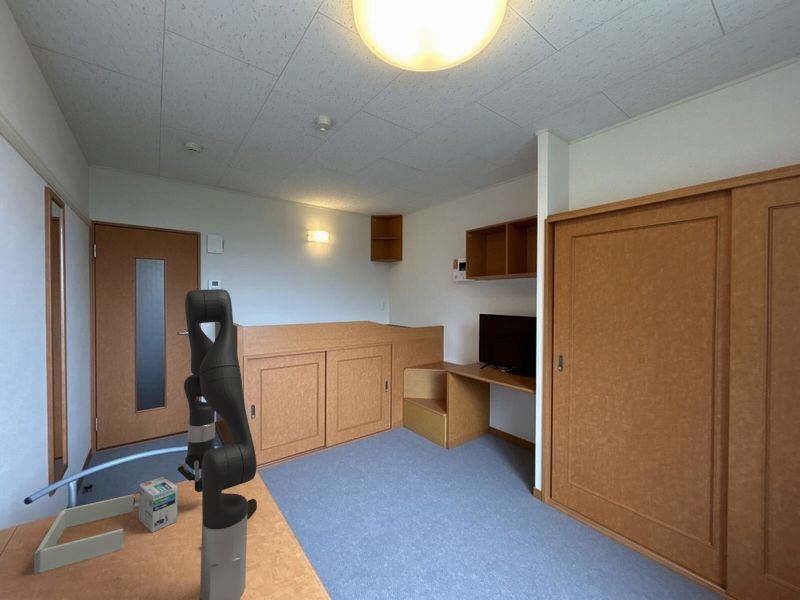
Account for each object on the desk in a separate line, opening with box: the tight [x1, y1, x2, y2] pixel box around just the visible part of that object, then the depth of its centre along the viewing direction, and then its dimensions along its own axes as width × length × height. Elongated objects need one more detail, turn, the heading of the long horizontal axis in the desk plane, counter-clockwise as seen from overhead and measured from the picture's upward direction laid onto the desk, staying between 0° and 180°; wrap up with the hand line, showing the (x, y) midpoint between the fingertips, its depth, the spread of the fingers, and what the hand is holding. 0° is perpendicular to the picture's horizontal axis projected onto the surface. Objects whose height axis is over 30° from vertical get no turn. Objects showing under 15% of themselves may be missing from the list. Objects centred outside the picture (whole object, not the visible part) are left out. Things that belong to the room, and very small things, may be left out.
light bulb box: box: [138, 476, 179, 533], centre depth 102 cm, size 11×7×11 cm, turn 56°
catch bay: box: [33, 494, 135, 575], centre depth 94 cm, size 20×16×5 cm
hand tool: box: [247, 498, 258, 521], centre depth 99 cm, size 19×4×5 cm, turn 160°
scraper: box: [133, 496, 139, 510], centre depth 107 cm, size 6×14×2 cm, turn 122°
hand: (199, 490), depth 108 cm, fingers closed
